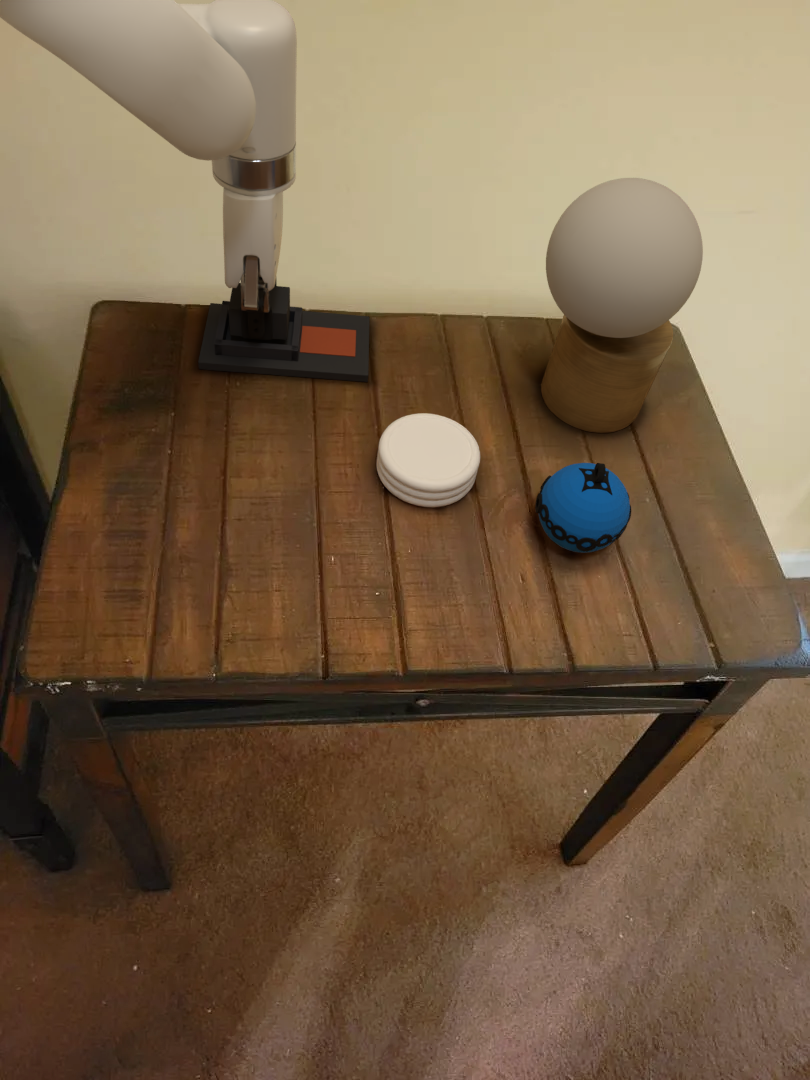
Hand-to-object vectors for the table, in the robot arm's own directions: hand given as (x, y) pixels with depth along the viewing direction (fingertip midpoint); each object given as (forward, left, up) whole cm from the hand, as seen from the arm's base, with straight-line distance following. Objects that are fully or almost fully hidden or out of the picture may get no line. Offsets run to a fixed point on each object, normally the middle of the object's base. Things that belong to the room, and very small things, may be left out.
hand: (259, 320), depth 88 cm
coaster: (+18, -17, -3) cm, 25 cm away
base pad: (+3, 0, -3) cm, 4 cm away
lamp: (+35, -5, -3) cm, 36 cm away
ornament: (+32, -24, -3) cm, 40 cm away
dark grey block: (0, 0, -1) cm, 1 cm away
